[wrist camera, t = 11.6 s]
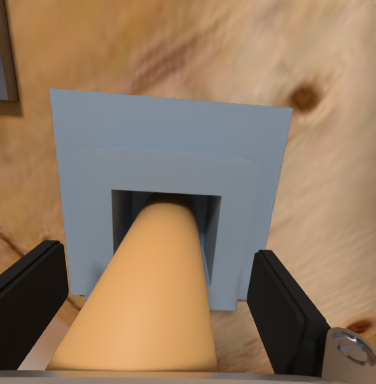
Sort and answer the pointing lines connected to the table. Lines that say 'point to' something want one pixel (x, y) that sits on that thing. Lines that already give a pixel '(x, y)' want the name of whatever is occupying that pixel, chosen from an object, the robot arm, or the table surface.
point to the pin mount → (6, 62)
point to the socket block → (167, 178)
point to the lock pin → (147, 300)
